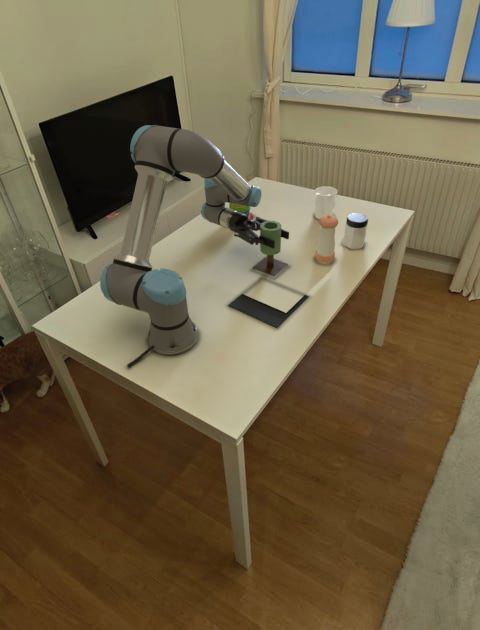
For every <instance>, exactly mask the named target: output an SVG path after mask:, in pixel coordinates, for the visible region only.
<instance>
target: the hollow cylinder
mask: <svg viewBox="0 0 480 630" xmlns="http://www.w3.org/2000/svg"><path fill="white" fill-rule="evenodd" d="M281 229H282V224H281V223H280V222H279V221H276V220H268V221H265V222H263V223H261V225H260V230H259V236H260V235H261V236H263V237H266V238H268V239H271V240H273V241H275V248H274V249H273V248H270V247H268V246H266V245H262V244H260V243H259V251H260V252H261V253H262V254H263V255H266V256H267V255H274V256H275V255H278V254H279V253H281V250H282V249H281V247H282V237H281Z"/></svg>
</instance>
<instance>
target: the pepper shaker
mask: <svg viewBox="0 0 480 630" xmlns="http://www.w3.org/2000/svg"><path fill="white" fill-rule="evenodd" d="M318 224H319V226H320V228H319V236H318V239H317V243H316V244H317V245H316V250H315V256H314V257H315V260H316V261H318V262H320V263H331V262H333V261H334V260H335V255H336V252H335V249H336V248H335V247H336V237H335V236H336V229H337V228H336V227H338V224H339V219H338V218H337V217H336V216H335V215H334V214H333V215H324V216H322V217H321V218H320V219H318Z"/></svg>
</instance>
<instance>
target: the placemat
mask: <svg viewBox="0 0 480 630" xmlns="http://www.w3.org/2000/svg"><path fill="white" fill-rule="evenodd" d="M308 298H309V295H307V294H304V295H303V296H302V297H301V298H300V299H299V300H298V301H297V302H296V303H295V304H294V305H293V306H291V308H289V309H288V310H287V311H286V312H285V311H284V310H281V309H278V308H276V307H274V306H271V305H270V304H267V303H264V302H262V301H260V300H258V299H255V298H253V297H252V296H251V297H250V296H248V295H246V294H243V293H241V294H240V295H239V296H237V297H236V298H235V299H234V300H233V301H231V302H230V303H229V304H228V307H230V308H232V309H234V310H236V311H239V312H241V313H243V314H245V315H248V316H250V317H252V318H253V319H256V320H258V321H261V322H262V323H265V324H267V325H269V326H271V327H273V328H276V329H278V328H279V327H280V326H281V325H282V324H283V323H284V322H285V321H286V320H287V319H288V318H289V317H290V316H291V315H293V313H294V312H295V311H296V310H297V309H298V308H299V307H300V306H301V305H303V303H304V302H306V301H307V300H308Z"/></svg>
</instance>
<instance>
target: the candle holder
mask: <svg viewBox="0 0 480 630" xmlns="http://www.w3.org/2000/svg"><path fill="white" fill-rule="evenodd" d="M337 196H338V189H337V188H335V187H333V186H329V185H323V186H318V187H316V188H315V190H314V218H316V219H317V220H319V219H320V218H321V217H322V216H324V215H333V216H334V214H335V208H336V203H337V198H338V197H337Z"/></svg>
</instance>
